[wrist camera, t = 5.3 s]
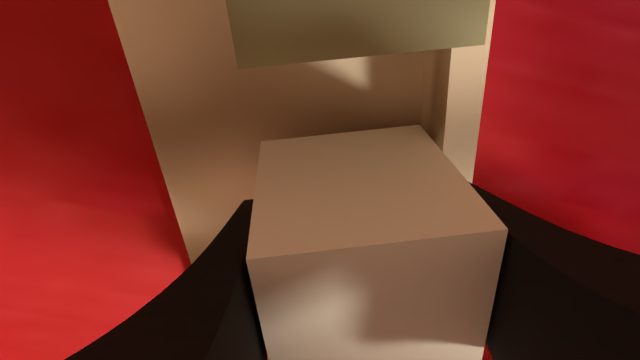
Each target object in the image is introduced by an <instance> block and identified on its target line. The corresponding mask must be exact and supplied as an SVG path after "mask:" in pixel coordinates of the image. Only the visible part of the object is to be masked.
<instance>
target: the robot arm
mask: <svg viewBox="0 0 640 360" xmlns="http://www.w3.org/2000/svg"><path fill="white" fill-rule="evenodd" d="M469 183H470V182H469ZM470 185H471V186H472V187H473V188H474V189H475V191H476V192H477V193H478V194H479V195H480V196H481V198H482V199H483V200H484V201H485V202H486V204H487V205H488V206H489V207H490V208H491V209H492V211H493V212H494V213H495V214H496V215H497V216H498V218H499V219H500V220H501V221H502V222H503V224H504V225H505V226H506V227H507V228H508V234H507V238H506V243H505V248H504V253H503V258H502V263H501V268H500V273H499V278H498V283H497V288H496V293H495V298H494V302H493V307H492V312H491V317H490V322H489V327H488V332H487V337H486V342H485V343H486V345H487V347H488V349H489V351H490V354H491V356H492V358H493V360H640V255H638V254H635V253H631V252H628V251H625V250H622V249H618V248H615V247H612V246H609V245H606V244H603V243H600V242H598V241H595V240H592V239H590V238H587V237H584V236H582V235H579V234H576V233H574V232H571V231H568V230H566V229H564V228H561V227H559V226H556V225H554V224H552V223H550V222H547V221H545V220H543V219H541V218H539V217H536V216H534V215H532V214H530V213H528V212H526V211H524V210H522V209H520V208H518V207H516V206H514V205H512V204H510V203H508V202H506V201H504V200H502V199H500V198H498V197H496V196H495V195H493V194H491V193H489V192H487V191H485V190H483V189H481V188H479V187H478V186H476V185H474V184H472V183H470ZM252 207H253V199H249V200H244V201H243V202H242V203H241V204H240V205H239V207H238V208H237V209H236V211H235V212H234V214H233V215H232V216H231V218H230V219H229V220H228V222H227V223H226V224H225V226H224V227H223V228H222V229H221V231H220V232H219V233H218V234H217V236H216V237H215V238H214V239H213V241H212V242H211V243H210V244H209V246H208V247H207V248H206V249H205V250H204V251H203V252H202V253H201V254H200V256H199V257H198V258H197V259H196V260H195V261H194V262H193V263H192V264H191V265H190V266H189V267H188V268H187V269H186V270H185V271H184V272H183V273H182V274H181V275H180V276H179V277H178V278H177V279H176V280H175V281H174V282H172V283H171V284H170V285H169V286H168V287H167V288H166V289H165V290H164V291H162V292H161V293H160V294H159V295H157V296H156V297H155V298H154V299H152V300H151V301H150V302H148V303H147V304H146V305H145V306H143V307H142V308H141V309H140V310H138V311H137V312H136V313H134V314H133V315H132V316H131V317H129V318H128V319H126V320H125V321H124V322H122V323H121V324H119V325H118V326H116V327H115V328H114V329H112V330H111V331H109V332H108V333H106V334H105V335H103V336H102V337H100V338H99V339H97V340H96V341H94V342H92V343H91V344H89V345H88V346H86V347H85V348H83V349H81V350H80V351H78V352H77V353H75V354H73V355H71V356H70V357H68V358H66V359H65V360H267V351H266V346H265V342H264V338H263V333H262V329H261V324H260V320H259V316H258V311H257V307H256V302H255V298H254V293H253V289H252V285H251V280H250V276H249V271H248V267H247V263H246V254H247V247H248V239H249V231H250V223H251V215H252Z"/></svg>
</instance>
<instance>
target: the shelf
mask: <svg viewBox="0 0 640 360" xmlns="http://www.w3.org/2000/svg"><path fill="white" fill-rule="evenodd" d="M495 2H496V0H108V3H109V6H110V9H111V13H112V16H113V19H114V22H115V25H116V28H117V31H118V35H119V38H120V41H121V44H122V47H123V50H124V54H125V57H126V60H127V63H128V66H129V69H130V73H131V76H132V79H133V82H134V85H135V88H136V91H137V95H138V98H139V101H140V104H141V107H142V110H143V114H144V117H145V120H146V123H147V126H148V129H149V132H150V136H151V139H152V142H153V145H154V148H155V151H156V155H157V158H158V161H159V164H160V167H161V170H162V173H163V177H164V180H165V183H166V186H167V189H168V192H169V196H170V199H171V202H172V205H173V208H174V211H175V215H176V218H177V221H178V224H179V227H180V230H181V233H182V237H183V240H184V243H185V246H186V249H187V252H188V256H189V259H190V262H191V264H192V263H193V262H194V261H195V260H196V259H197V258H198V257H199V256H200V254H201V253H202V252H203V251H204V250H205V249H206V248H207V247H208V246H209V244H210V243H211V242H212V241H213V239H214V238H215V237H216V236H217V234H218V233H219V232H220V231H221V229H222V228H223V227H224V226H225V224H226V223H227V222H228V220H229V219H230V218H231V216H232V215H233V214H234V212H235V211H236V209H237V208H238V207H239V205H240V204H241V203H242V202H243V201H244V200H249V199H254V191H255V183H256V176H257V168H258V160H259V152H260V144H261V141H269V140H279V139H288V138H298V137H307V136H317V135H326V134H336V133H345V132H354V131H364V130H373V129H383V128H392V127H402V126H411V125H420V126H421V127H422V128H423V129H424V131H425V132H426V133H427V134H428V135H429V136H430V138H431V139H432V140H433V141H434V142H435V143H436V145H437V146H438V147H439V148H440V149H441V151H442V152H443V153H444V154H445V155H446V156H447V158H448V159H449V160H450V161H451V162H452V163H453V165H454V166H455V167H456V168H457V169H458V171H459V172H460V173H461V174H462V175H463V176H464V178H465V179H466V180H467V181H468V182H470V183H472V180H473V172H474V165H475V157H476V149H477V141H478V134H479V126H480V118H481V110H482V103H483V95H484V87H485V79H486V72H487V64H488V56H489V48H490V41H491V33H492V25H493V17H494V10H495Z"/></svg>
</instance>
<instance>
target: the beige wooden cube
mask: <svg viewBox="0 0 640 360" xmlns="http://www.w3.org/2000/svg"><path fill="white" fill-rule="evenodd" d="M507 234H508V228H507V227H506V226H505V225H504V224H503V222H502V221H501V220H500V219H499V218H498V216H497V215H496V214H495V213H494V212H493V211H492V209H491V208H490V207H489V206H488V205H487V204H486V202H485V201H484V200H483V199H482V198H481V196H480V195H479V194H478V193H477V192H476V191H475V189H474V188H473V187H472V186H471V185H470V183H469V182H468V181H467V180H466V179H465V178H464V176H463V175H462V174H461V173H460V172H459V171H458V169H457V168H456V167H455V166H454V165H453V163H452V162H451V161H450V160H449V159H448V158H447V156H446V155H445V154H444V153H443V152H442V151H441V149H440V148H439V147H438V146H437V145H436V143H435V142H434V141H433V140H432V139H431V138H430V136H429V135H428V134H427V133H426V132H425V131H424V129H423V128H422V127H421V126H420V125H411V126H402V127H392V128H383V129H373V130H364V131H354V132H345V133H336V134H326V135H317V136H307V137H298V138H288V139H279V140H269V141H261V144H260V152H259V160H258V168H257V176H256V183H255V191H254V199H253V207H252V215H251V223H250V231H249V239H248V247H247V254H246V263H247V267H248V271H249V276H250V280H251V285H252V289H253V293H254V298H255V302H256V307H257V311H258V316H259V320H260V324H261V329H262V333H263V338H264V342H265V346H266V351H267V355H268V360H482V357H483V352H484V347H485V342H486V337H487V332H488V327H489V322H490V317H491V312H492V307H493V302H494V298H495V293H496V288H497V283H498V278H499V273H500V268H501V263H502V258H503V253H504V248H505V243H506V238H507Z"/></svg>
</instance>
